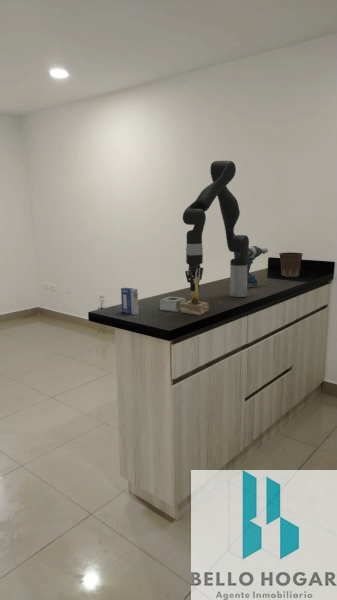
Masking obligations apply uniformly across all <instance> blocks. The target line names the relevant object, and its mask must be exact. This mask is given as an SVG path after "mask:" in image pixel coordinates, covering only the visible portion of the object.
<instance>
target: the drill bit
mask: <svg viewBox="0 0 337 600" xmlns="http://www.w3.org/2000/svg"><path fill="white" fill-rule="evenodd" d="M193 277H194V276H193ZM190 293H191V295H190V296H191V298H190V299H191V300H190V301H191V302H192V303H198V301H199V290H198V277H196V279H195V291H190Z"/></svg>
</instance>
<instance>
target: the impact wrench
mask: <svg viewBox="0 0 337 600" xmlns="http://www.w3.org/2000/svg"><path fill="white" fill-rule="evenodd" d="M267 253H268V247H262V248H261V247H258V246H256V245H253V246H252V245H251V246H249V250H248V263H247V289H252V288H253V287H254V288H256V287H258V280H257V279H256V275H254V274H250V270H251V267H252V264H253V263H254V262H253V261H254V260H256V258H259V256H261V255H262V254H263V255H265V254H267ZM233 255H234V256H233V257H234V258H237V257H239V256H240V252H233ZM234 258H233V259H234Z"/></svg>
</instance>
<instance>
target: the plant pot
mask: <svg viewBox="0 0 337 600" xmlns="http://www.w3.org/2000/svg"><path fill="white" fill-rule="evenodd" d="M278 255H279V259H280V272H281V273H280V274H281V275H282V276H281V277H283V276H285V277H284V278H290V277H291V278H297V276H298V277H300V271H301V263H302V257H303V253H302V252H288V251H287V252H279V253H278Z"/></svg>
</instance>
